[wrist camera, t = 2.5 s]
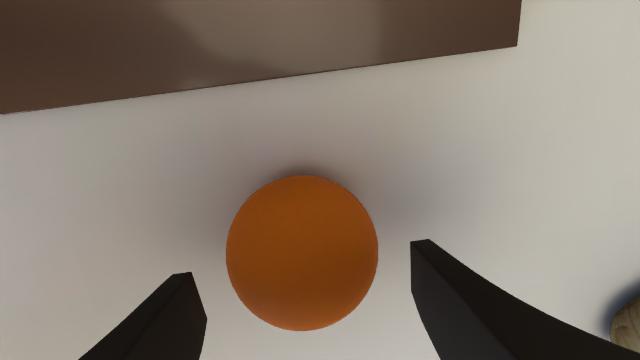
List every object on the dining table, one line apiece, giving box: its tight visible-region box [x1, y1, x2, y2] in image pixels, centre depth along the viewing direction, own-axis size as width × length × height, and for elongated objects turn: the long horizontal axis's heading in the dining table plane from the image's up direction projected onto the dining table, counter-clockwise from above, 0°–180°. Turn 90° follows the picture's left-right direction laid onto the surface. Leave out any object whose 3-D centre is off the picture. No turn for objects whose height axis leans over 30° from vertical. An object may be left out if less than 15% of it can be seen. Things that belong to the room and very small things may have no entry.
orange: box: [226, 175, 378, 331], centre depth 13 cm, size 6×6×6 cm
